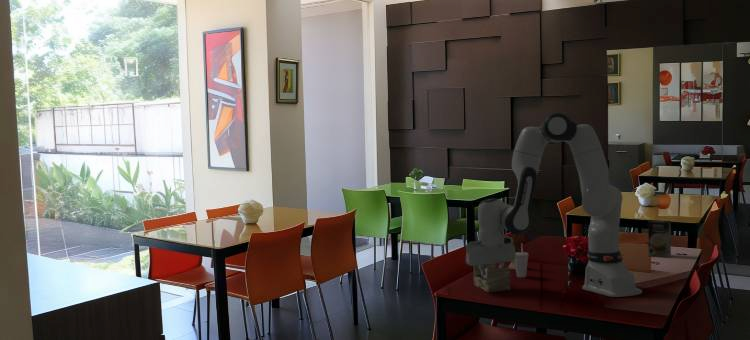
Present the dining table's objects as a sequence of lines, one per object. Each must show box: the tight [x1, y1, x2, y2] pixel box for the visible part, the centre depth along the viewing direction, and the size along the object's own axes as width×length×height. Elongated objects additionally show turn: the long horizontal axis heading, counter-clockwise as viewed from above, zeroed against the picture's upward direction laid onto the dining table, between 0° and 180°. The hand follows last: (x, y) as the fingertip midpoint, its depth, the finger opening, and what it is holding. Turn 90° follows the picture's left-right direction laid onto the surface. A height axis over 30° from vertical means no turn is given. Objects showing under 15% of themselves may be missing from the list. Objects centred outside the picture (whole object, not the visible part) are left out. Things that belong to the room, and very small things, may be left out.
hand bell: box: [507, 234, 520, 271], centre depth 291 cm, size 8×8×16 cm
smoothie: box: [515, 242, 529, 278], centre depth 275 cm, size 6×6×14 cm
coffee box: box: [647, 219, 672, 258], centre depth 303 cm, size 9×6×16 cm
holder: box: [472, 263, 511, 294], centre depth 260 cm, size 14×9×9 cm, turn 15°
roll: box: [481, 268, 489, 281], centre depth 260 cm, size 10×5×5 cm, turn 15°
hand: (491, 274), depth 260 cm, fingers open, 5 cm apart
